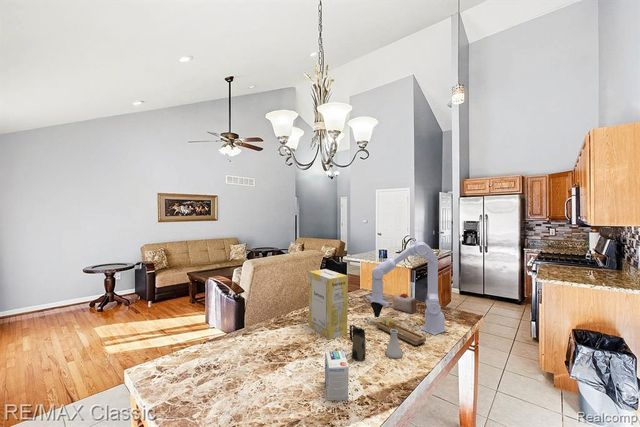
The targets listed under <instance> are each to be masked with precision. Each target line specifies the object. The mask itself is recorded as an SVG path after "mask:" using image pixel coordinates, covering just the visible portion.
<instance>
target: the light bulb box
mask: <svg viewBox="0 0 640 427" xmlns="http://www.w3.org/2000/svg"><path fill="white" fill-rule="evenodd" d="M349 371H350V370H349V364H348V360H347V358H346V355H345V351H344V350H334V351H333V350H332V351H331V350H330V351H325V352H324V386H325V390H326V391H325V392H326V398H327V401H328V400H336V401H349Z"/></svg>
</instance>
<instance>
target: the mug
mask: <svg viewBox="0 0 640 427" xmlns="http://www.w3.org/2000/svg"><path fill="white" fill-rule="evenodd" d="M348 330H349V339H350V342H351V343H352V345H351V347H352V348H351V349H352V350H351V359H352V360H353V361H355V362H363V361H365V360H366V349H367V348H366V346H367V344H366V331H365V329H363V328H359V327H357V326H356V325H354V324H350V325H349V328H348Z"/></svg>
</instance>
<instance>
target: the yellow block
mask: <svg viewBox="0 0 640 427" xmlns="http://www.w3.org/2000/svg"><path fill="white" fill-rule="evenodd" d="M380 320H381V321H380V322H381V324H382V325H384V326H386V327H389V328H392V327H395V324H396V322H395V319H394V318H392V317H389V316H384V317H381V319H380Z"/></svg>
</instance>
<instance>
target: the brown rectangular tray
mask: <svg viewBox="0 0 640 427" xmlns="http://www.w3.org/2000/svg"><path fill="white" fill-rule="evenodd" d="M375 324H376V327H377V328H378V329H381V330H383V331H385V332H387V333H390V334H391V332H390V330H391V329H395V330H397V331H398V333H397V337H398V339H402V340H404V341H406V342H408V343H410V344H412V345H415V346H417V345H420V344H422V343H425V342H427V341H426V340H427V338H426V336H423V335H421V334H419V333H417V332H414V331H412V330H410V329H408V328H406V327H404V326H401V325H398V324H397V323H395V327H392V328H389V327H386V326H384V325H382V324H381V321H379V322H376V323H375Z"/></svg>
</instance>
